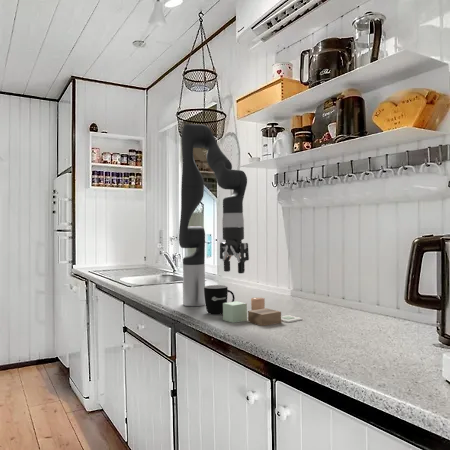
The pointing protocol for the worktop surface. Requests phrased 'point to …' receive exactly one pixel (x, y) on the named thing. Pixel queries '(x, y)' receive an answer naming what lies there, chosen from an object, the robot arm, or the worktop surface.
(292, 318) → the tile
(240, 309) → the sage cube
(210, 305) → the mug
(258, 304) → the terracotta cylinder
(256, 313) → the walnut block
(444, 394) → the worktop surface
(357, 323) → the worktop surface
